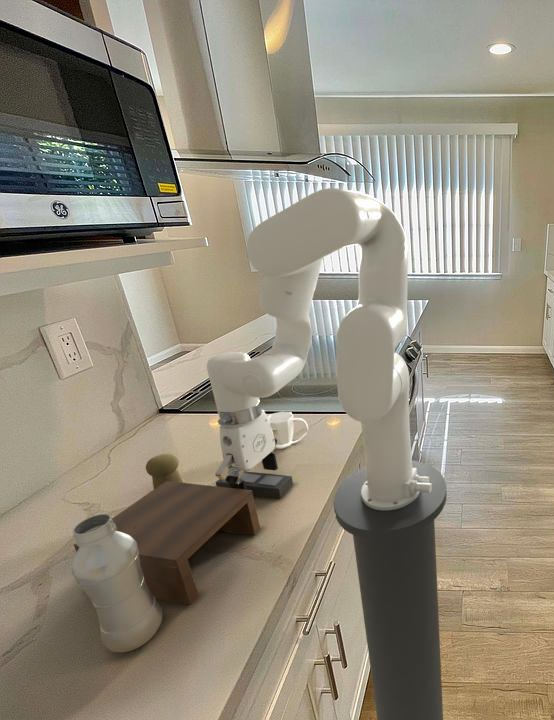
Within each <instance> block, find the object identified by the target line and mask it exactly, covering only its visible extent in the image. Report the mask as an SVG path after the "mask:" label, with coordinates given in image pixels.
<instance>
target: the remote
mask: <svg viewBox="0 0 554 720" xmlns="http://www.w3.org/2000/svg"><path fill="white" fill-rule="evenodd" d="M237 473H238V470H235V472H234V475H233V476H234V477H237ZM242 480H244V481H245V484H246V488H247V490H251V491H252V494H253V496H255V497H256V496H258V497H266V498H275V499H282V498H283V497H284V496H285V494H286V493H288V491H289V490H290V489H291V488H292V487H293V486H294V480H293V476H292V475H286V474H285V475H284V474H274V473H265V472H257V471H244V475H243V478H242ZM215 484H216V485H215V486H217V487H225V488H230V484H229V483H226V482H223V481H221V480H220V479H219V478H218V479H217V481H215Z"/></svg>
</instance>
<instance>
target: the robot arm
mask: <svg viewBox="0 0 554 720" xmlns="http://www.w3.org/2000/svg"><path fill="white" fill-rule="evenodd" d="M356 245H357V246H358V247H359V248H360V261H359V266H358V273H357V278H358V298H357V304H356V306H355V307H354V308H352V309H351V310H349V311H348V312H347V313H346V314H345V315H344V317H343V318H342V320H341V321H340V322H339V325H338V329H337V333H336V342H335V343H336V384H337V385H336V386H337V387H336V389H337V396H338V402H339V404H340V406H341V408H342V410H343V411H344V413H346V415H347V416H348V417H349V418H351V419H353V420H354V421H357V422H360V425H361V426H360V427H361V436H362V445H363V446H362V447H363V455H364V456H363V457H364V464H365V467H366V474H367V481H366V482H365V483H364V485H363V486H362V489H361V497H362V500H363V502H364V503H365V504H366V505H367V506H368V507H370V508H373V509H376V510H384V511H387V510H395V509H399V508H402V507H404V506H406V505H408V504H410V503H411V502H413V501H414V500H415V499H416V498H417V496H418V495H419V493H420V492H425V493H431V490H432V484H431V483H429V477H420V476H419V475H417V468H412V460H413V459H412V458H413V457H412V456H413V455H412V443H411V427H410V426H411V424H410V423H411V421H410V371H409V368H408V365H407V363H406V361H405V359H404V358H403V357H402V356H401V355H400V354H398V353H397V352H396V348H397V346H398V345H399V344H400V343H401V341H402V340H403V339H404V337H405V335H406V333H407V327H408V290H409V289H408V287H409V286H408V285H409V284H408V274H409V273H408V272H409V271H408V270H409V269H408V268H409V246H408V240H407V235H406V232H405V230H404V227H403V224H402V223H401V221H400V220H399V218H398V216H397V215H396V214H395V212H394V211H392V210H391V208H389V206H387V205H386V204H384V203H383V202H382V201H380V200H379V199H378V198H375V197H374V196H371V195H369V194H366V193H364V192H360V191H355V190H347V189H344V188H343V189H342V188H335V187H329V188H323V189H319V190H317V191H315V192H313V193H310V194H309V195H307V196H304V197H303V198H301V199H300V200H298V201H296V202H295V203H293V204H291V205H290V206H288V207H286V208H284V209H283V210H281V211H279V212H277V213H275V214H274V215H272V216H270V217H268V218H267V219H265V220H263V221H261V222H260V223H259V224H258V225H257V226H255V227H254V228H253V229H252V231H250V233H249V235H248V238H247V242H246V254H247V258H248V261H249V262H250V264H251V266H252V267H253V268H254V269H255V270H256V271H257V272H258V273H260V274H261V275H263V278H262V284H261V289H260V294H259V297H258V306H259V307H260V308H261V310H262V311H263V312H264V313H266V314H267V315H269V316H271V317H273V318H275V320H276V321H275V322H276V330H275V335H274V338H273V343H272V346H271V349H269V350H267V351H265V352H263V353H262V354H260V355H258V356H256V357H254V358H251V357H250V356H249V355H248V354H247V353H244V352H240V351H232V352H231V351H230V352H223V353H220V354H217V355H215V356H214V355H213V356H212V357H210V358H209V359H208V361H207V363H206V371H207V374H208V378H209V382H210V386H211V390H212V395H213V399H214V402H215V406H216V411H217V415H218V417H219V418H218V420H217V423H218V425H219V440H220V448H221V454H222V458H223V460H222V462H221V463H220V465H219V466H218V468H217V470H216V471H215V474H214V475H215V477H217V478H218V480H219V479H220V480H221V481H223V482H226V483H229V484H230V488H234V489H243V490H247V488H246V484H245V481H244V480H242V478H243V475H244V471H247V472H249V471H250V470H252V469H253V468H254V467H255V466H257V465H258V464H259V463H260V462H261V463H262V467H263V470H267V471H277V470H278V469H279V467H278V462H277V456H276V453H277V448H276V444H277V439H276V438H277V433H278V430H274V429H272V428H271V425H270V422H269V420H268V417H267V416H268V415H267V413H266V412H265V410H264V409H262V406H261V401H260V399H264V398H269V397H271V396H273V395H274V394H276V393H277V392H279V391H281V389H283V388H284V387H285V386H286V385H288V383H290V382H291V381H293V380H294V379H296V378H297V377H298V376H299V375H300V374H301V372H302V371H303V369H304V367H305V364H306V362H307V359H308V355H309V351H310V349H311V344H312V339H313V331H312V322H311V318H310V310H311V306H312V302H313V299H314V293H315V290H316V286H317V283H318V279H319V276H320V272H321V267H322V264H323V260H324V258H325V257H327V256H329V255H331V254H333V253H335V252H336V251H338V250H341V249H344V248H346V247H351V246H356ZM235 470H238V473H237V477H234V476H233V475H234V472H235Z"/></svg>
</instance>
